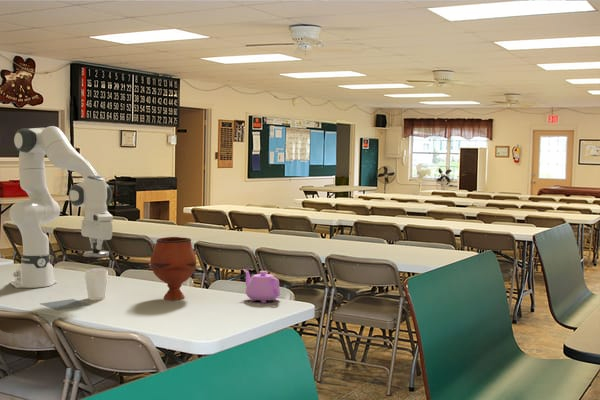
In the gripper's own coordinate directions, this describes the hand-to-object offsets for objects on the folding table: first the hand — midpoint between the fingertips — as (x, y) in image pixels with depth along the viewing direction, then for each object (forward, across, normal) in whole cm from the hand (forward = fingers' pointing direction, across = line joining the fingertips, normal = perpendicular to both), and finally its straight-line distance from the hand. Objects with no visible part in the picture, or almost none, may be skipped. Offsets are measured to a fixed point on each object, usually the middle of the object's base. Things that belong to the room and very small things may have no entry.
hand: (96, 249), depth 288 cm
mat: (+21, +3, -15) cm, 26 cm away
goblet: (+21, +19, +25) cm, 38 cm away
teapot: (+21, +46, +50) cm, 71 cm away
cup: (+21, 0, 0) cm, 21 cm away
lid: (+3, 0, 0) cm, 3 cm away
